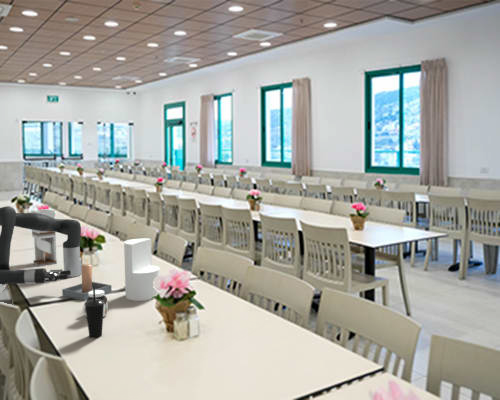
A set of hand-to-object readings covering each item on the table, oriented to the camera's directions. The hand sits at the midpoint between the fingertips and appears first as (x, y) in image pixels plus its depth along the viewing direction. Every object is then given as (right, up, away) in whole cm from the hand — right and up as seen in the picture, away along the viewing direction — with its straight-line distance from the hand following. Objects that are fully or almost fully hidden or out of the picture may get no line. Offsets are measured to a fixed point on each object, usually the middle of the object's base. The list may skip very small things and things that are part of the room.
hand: (69, 274), depth 254 cm
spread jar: (+23, -14, -32) cm, 42 cm away
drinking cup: (+31, -16, -55) cm, 65 cm away
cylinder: (+38, -11, -1) cm, 39 cm away
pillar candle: (+8, -9, +2) cm, 13 cm away
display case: (-41, -4, +70) cm, 81 cm away
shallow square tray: (+9, -10, +3) cm, 14 cm away
